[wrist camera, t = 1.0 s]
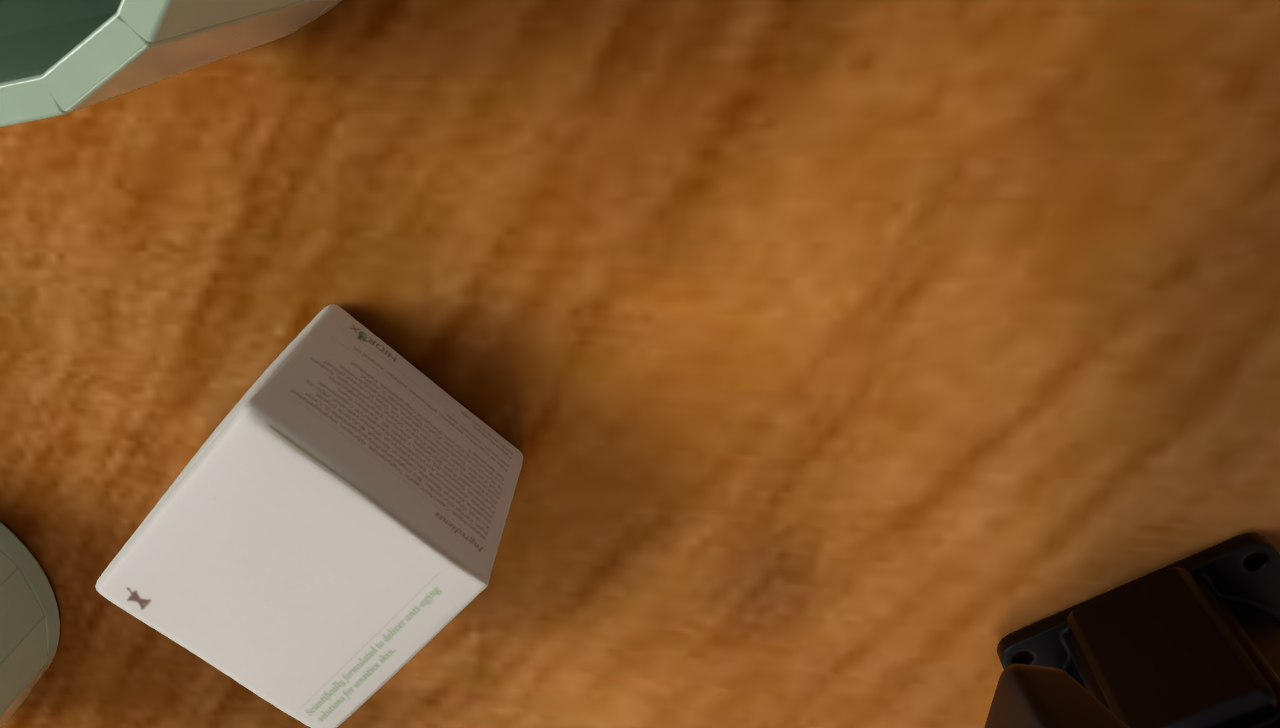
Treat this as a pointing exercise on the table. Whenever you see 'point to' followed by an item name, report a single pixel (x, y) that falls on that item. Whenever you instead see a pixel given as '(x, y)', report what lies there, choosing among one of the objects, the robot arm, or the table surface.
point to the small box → (323, 526)
